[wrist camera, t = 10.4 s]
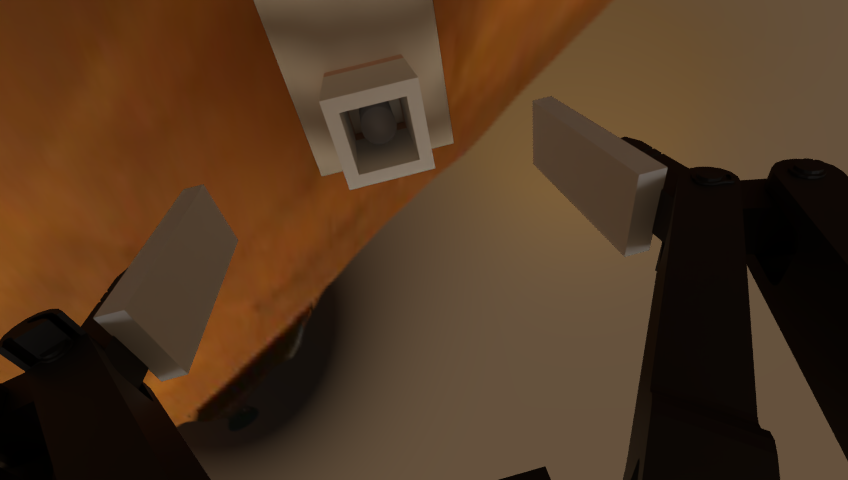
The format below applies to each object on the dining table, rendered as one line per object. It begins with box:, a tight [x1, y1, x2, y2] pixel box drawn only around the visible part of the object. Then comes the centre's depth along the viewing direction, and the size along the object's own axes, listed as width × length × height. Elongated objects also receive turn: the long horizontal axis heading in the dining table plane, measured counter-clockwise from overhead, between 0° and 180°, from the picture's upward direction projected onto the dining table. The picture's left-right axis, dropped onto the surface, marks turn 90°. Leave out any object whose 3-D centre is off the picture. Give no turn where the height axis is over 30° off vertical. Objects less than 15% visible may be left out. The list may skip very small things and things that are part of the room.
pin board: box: [254, 0, 454, 176], centre depth 25 cm, size 22×12×8 cm, turn 11°
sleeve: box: [319, 54, 435, 190], centre depth 27 cm, size 6×6×8 cm
